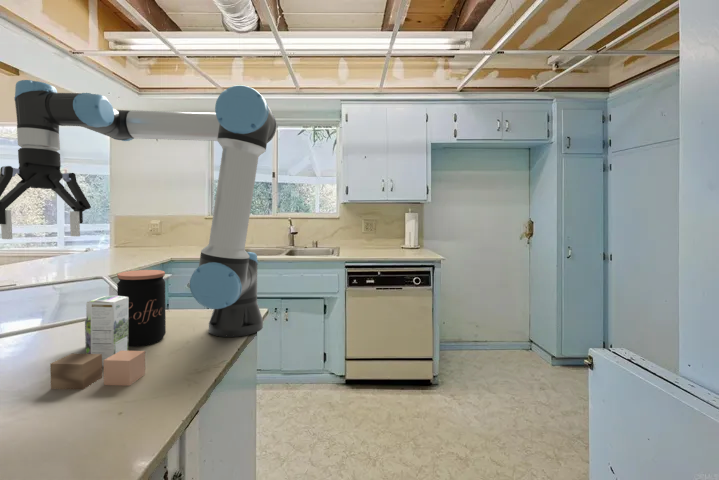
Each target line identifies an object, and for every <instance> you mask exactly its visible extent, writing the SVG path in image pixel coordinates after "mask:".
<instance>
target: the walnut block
mask: <svg viewBox="0 0 719 480" xmlns="http://www.w3.org/2000/svg"><path fill="white" fill-rule="evenodd" d="M49 364H50V366H49V368H50V389H51V390H80V391H81V390H82V391H84V390H85V389H87V388H88V387H90V386H91V385H92V383H93V384H94V382H95V383H96V382H98V381H100V380H101V379H103V367H102V354H86V353H70V354H68V355H66V356H64V357H62V358H59V359H57V360H55V361H53V362H51V363H49ZM97 380H98V381H97ZM89 385H90V386H89Z"/></svg>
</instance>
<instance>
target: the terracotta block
mask: <svg viewBox="0 0 719 480" xmlns="http://www.w3.org/2000/svg"><path fill="white" fill-rule="evenodd" d="M145 375H146V351H145V350H128V351H119V352H117V353H116V354H114V355H112V356H110V357H108V358H107V359H105V360H104V367H103V385H104V386H131V385H132V384H134V383H135V382H137V381H138V380H139V379H140V378H142V377H143V376H145ZM136 380H137V381H136ZM133 382H134V383H133Z"/></svg>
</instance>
